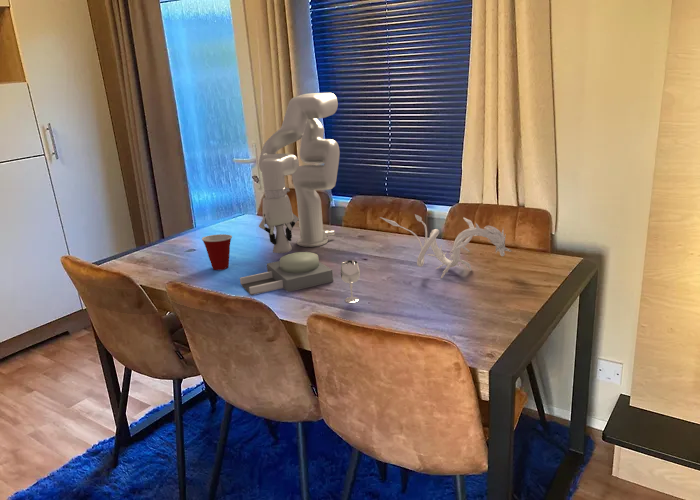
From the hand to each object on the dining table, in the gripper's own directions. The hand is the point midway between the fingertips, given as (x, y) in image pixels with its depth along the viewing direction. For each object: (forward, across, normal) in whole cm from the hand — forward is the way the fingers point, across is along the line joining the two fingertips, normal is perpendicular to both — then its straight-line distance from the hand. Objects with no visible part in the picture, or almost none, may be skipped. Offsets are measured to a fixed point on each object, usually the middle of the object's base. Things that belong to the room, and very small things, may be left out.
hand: (281, 241), depth 210 cm
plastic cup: (+8, +21, -10) cm, 25 cm away
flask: (+4, 0, 0) cm, 4 cm away
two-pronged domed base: (+8, +6, +18) cm, 21 cm away
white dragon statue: (+9, -40, +44) cm, 60 cm away
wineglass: (+8, -5, +46) cm, 47 cm away
